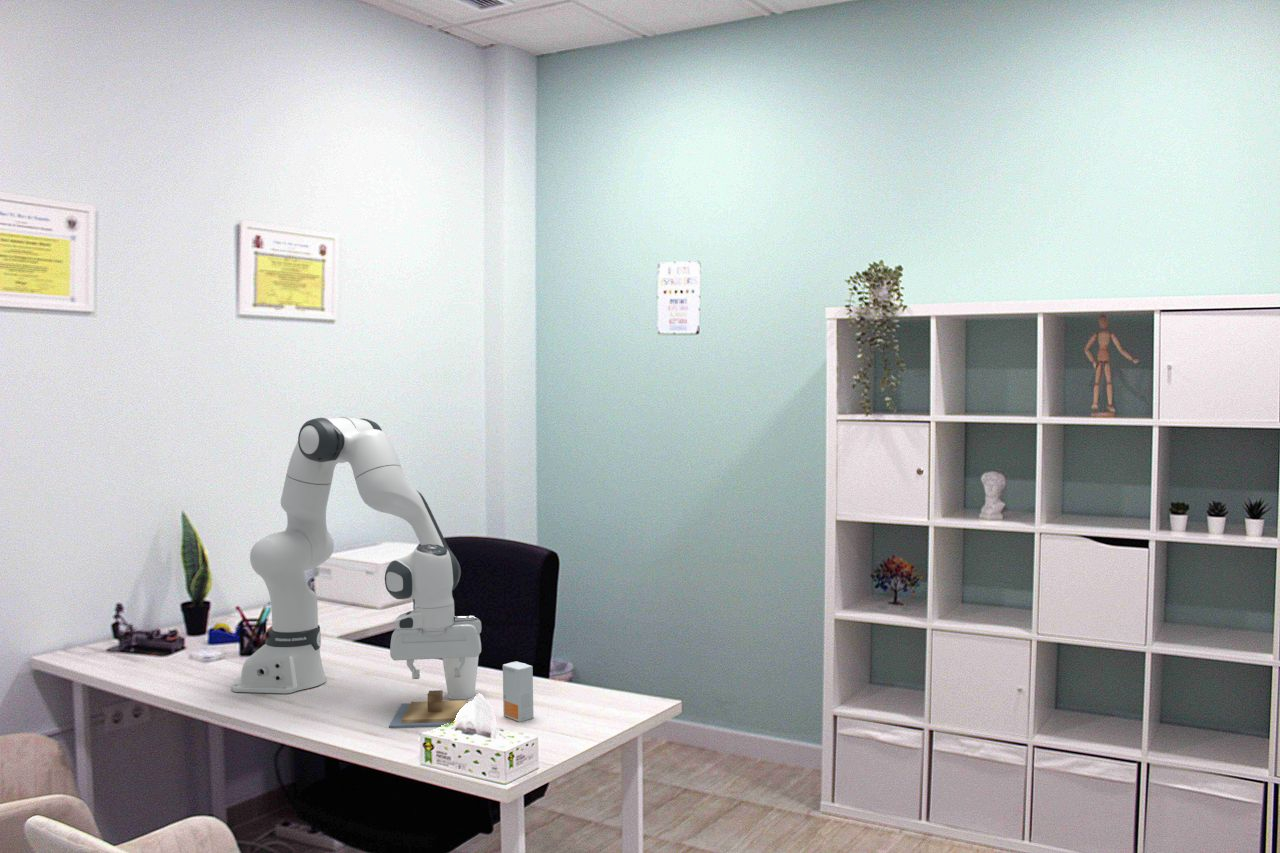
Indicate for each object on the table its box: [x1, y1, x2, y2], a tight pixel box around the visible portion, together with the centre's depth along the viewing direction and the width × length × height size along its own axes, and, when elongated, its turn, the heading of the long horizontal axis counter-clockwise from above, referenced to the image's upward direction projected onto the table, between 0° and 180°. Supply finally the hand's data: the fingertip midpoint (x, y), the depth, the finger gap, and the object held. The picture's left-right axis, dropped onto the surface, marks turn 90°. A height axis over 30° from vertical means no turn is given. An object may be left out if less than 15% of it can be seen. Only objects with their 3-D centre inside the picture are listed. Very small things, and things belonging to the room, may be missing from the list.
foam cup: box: [441, 654, 480, 700], centre depth 259 cm, size 10×9×13 cm
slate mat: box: [388, 702, 450, 729], centre depth 244 cm, size 18×16×1 cm
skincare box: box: [502, 661, 534, 723], centre depth 241 cm, size 6×4×12 cm
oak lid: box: [402, 689, 469, 723], centre depth 244 cm, size 13×13×5 cm
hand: (437, 677), depth 243 cm, fingers open, 8 cm apart
